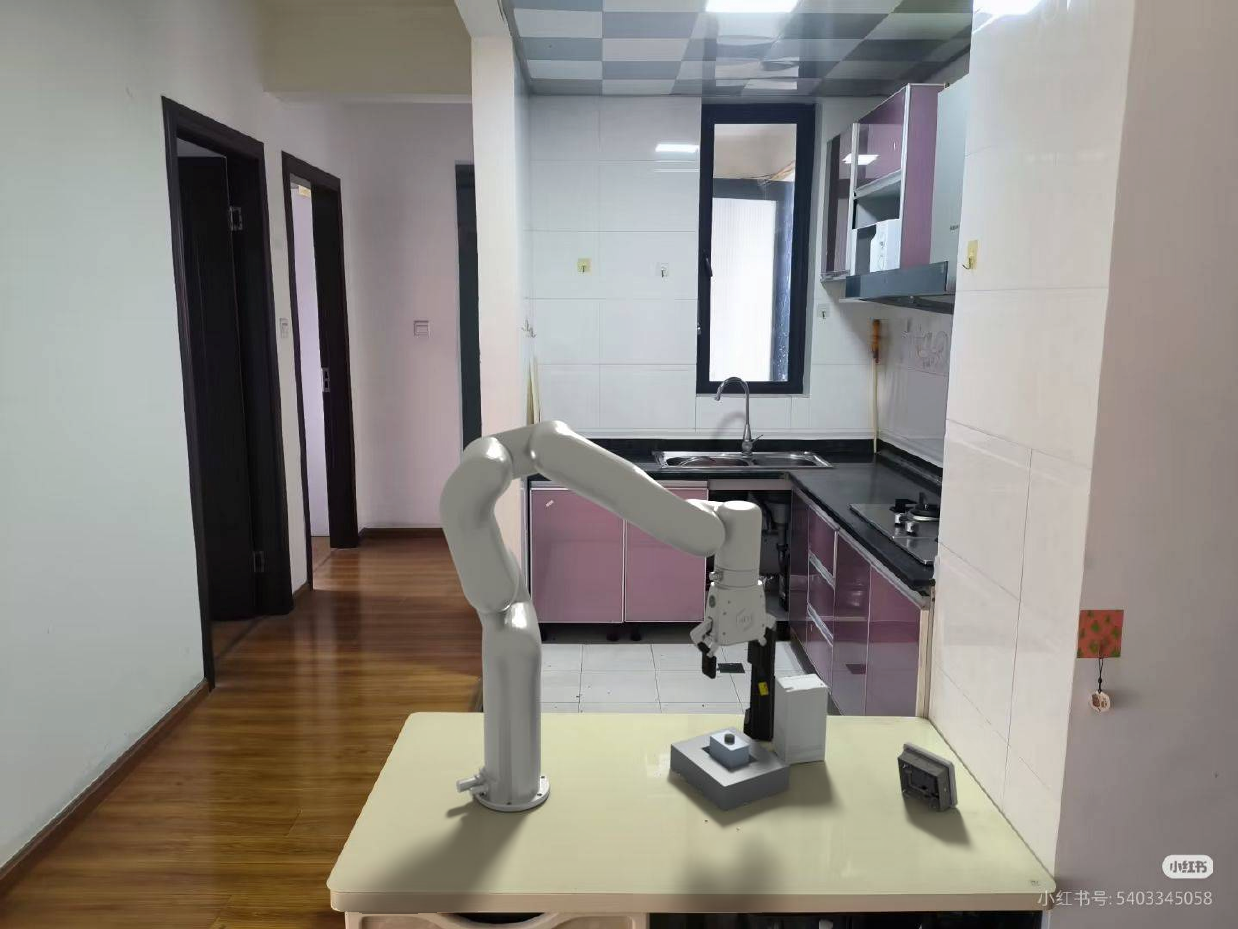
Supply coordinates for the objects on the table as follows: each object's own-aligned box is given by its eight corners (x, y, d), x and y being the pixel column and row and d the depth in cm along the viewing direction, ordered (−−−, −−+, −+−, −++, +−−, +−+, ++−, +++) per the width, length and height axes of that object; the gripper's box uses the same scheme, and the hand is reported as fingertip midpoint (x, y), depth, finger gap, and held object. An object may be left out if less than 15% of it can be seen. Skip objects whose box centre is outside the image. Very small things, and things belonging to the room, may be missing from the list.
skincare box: (812, 746, 171) (816, 672, 168) (826, 762, 165) (831, 686, 162) (770, 750, 169) (774, 675, 166) (783, 766, 163) (787, 690, 160)
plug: (729, 782, 155) (731, 746, 154) (708, 767, 160) (710, 731, 159) (747, 776, 157) (749, 740, 156) (726, 761, 162) (728, 726, 161)
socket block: (723, 811, 149) (724, 786, 148) (670, 767, 162) (670, 744, 161) (789, 789, 156) (790, 765, 155) (732, 748, 169) (733, 726, 168)
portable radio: (774, 745, 170) (781, 620, 166) (742, 742, 172) (747, 617, 167) (775, 726, 178) (782, 605, 173) (745, 723, 179) (750, 603, 174)
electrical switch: (958, 808, 151) (960, 759, 149) (940, 821, 148) (942, 771, 146) (910, 784, 158) (911, 736, 156) (892, 796, 155) (892, 748, 153)
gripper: (707, 589, 144) (703, 689, 148) (790, 574, 153) (785, 669, 156) (681, 576, 151) (677, 672, 154) (762, 562, 159) (757, 653, 163)
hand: (731, 670), depth 155 cm, fingers open, 9 cm apart
